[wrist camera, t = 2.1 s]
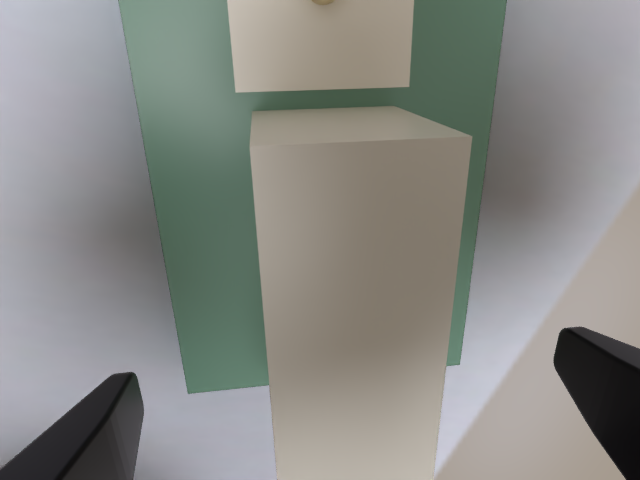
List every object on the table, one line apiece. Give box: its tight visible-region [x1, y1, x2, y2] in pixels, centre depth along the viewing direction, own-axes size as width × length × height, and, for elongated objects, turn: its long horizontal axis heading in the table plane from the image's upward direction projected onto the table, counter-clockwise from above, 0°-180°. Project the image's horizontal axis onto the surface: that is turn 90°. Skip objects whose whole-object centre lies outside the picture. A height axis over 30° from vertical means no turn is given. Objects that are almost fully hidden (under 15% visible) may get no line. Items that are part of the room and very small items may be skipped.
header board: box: [118, 0, 507, 394], centre depth 11 cm, size 21×10×4 cm, turn 1°
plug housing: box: [250, 106, 472, 480], centre depth 12 cm, size 9×4×5 cm, turn 1°
